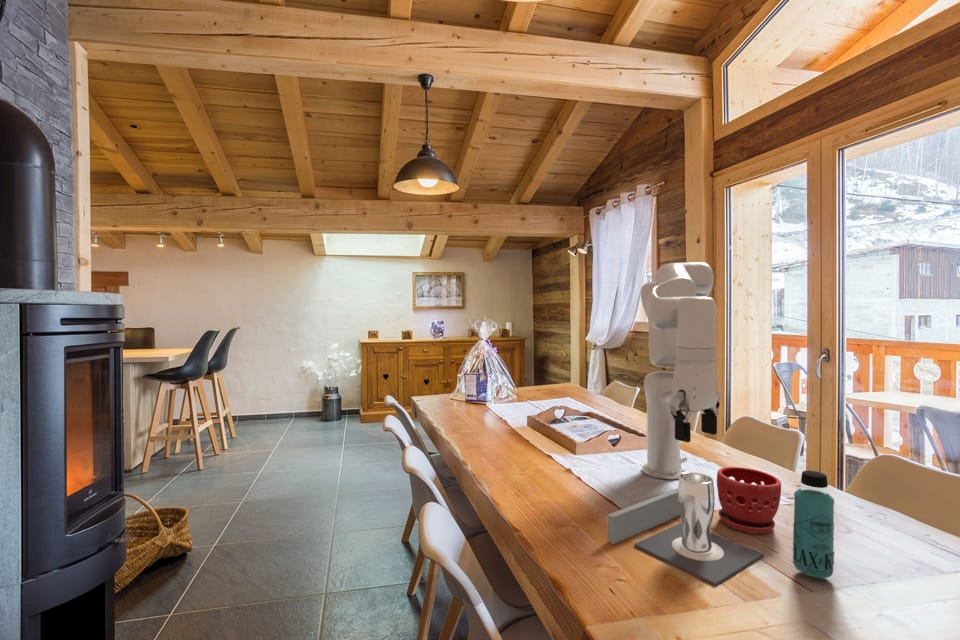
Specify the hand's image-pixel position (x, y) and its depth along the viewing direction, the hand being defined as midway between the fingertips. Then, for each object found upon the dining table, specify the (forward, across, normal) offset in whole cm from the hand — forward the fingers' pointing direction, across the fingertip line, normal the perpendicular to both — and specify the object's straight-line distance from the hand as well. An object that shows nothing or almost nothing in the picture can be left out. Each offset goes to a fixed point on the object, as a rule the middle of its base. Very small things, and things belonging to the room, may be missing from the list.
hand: (696, 436), depth 100 cm
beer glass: (+24, 0, 0) cm, 24 cm away
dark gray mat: (+24, 0, 0) cm, 24 cm away
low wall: (+24, -2, -13) cm, 27 cm away
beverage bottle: (+24, -9, +18) cm, 32 cm away
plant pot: (+25, -21, 0) cm, 32 cm away
